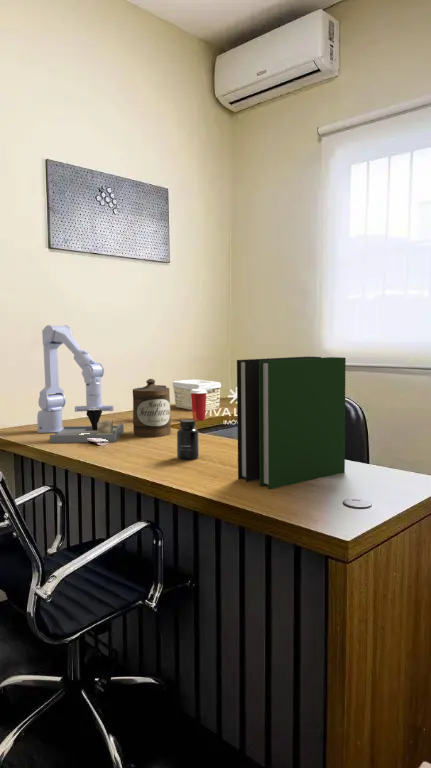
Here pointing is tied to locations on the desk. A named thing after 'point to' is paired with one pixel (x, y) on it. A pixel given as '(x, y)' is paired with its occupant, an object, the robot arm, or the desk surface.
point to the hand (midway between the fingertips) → (94, 429)
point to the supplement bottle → (187, 440)
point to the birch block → (105, 426)
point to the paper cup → (198, 404)
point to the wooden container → (151, 410)
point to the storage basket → (185, 387)
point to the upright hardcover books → (290, 419)
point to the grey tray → (72, 434)
